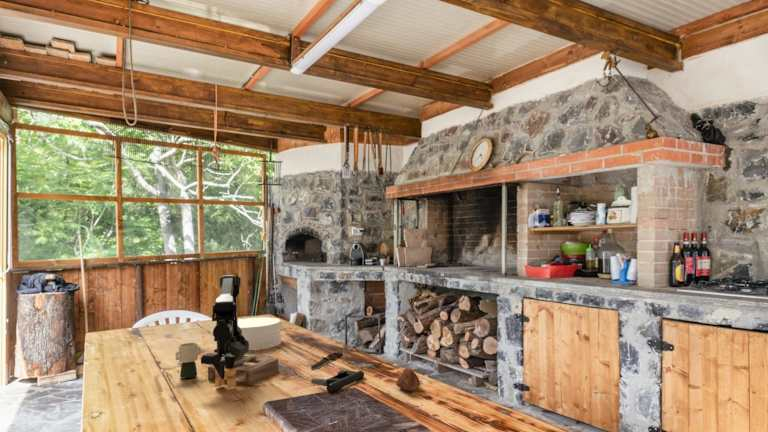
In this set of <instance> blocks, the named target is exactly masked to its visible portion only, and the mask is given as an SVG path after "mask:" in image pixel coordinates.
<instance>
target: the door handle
mask: <svg viewBox="0 0 768 432" xmlns="http://www.w3.org/2000/svg"><path fill="white" fill-rule="evenodd" d="M364 377H365V373H364V371H363V370H358V371H355V370H339V371H337V375H334V376H332V377H329V378H327V379H326V378H325V379H324V378H318V377H317V378H315V377H314V378H311V380H310V381H311V383H312V384H317V385H322V386H326V391H327V392H328V393H329V392H330V393H333V392H332V391H335V392H337V391H339V390H341V389H345V388H348V387H349V386H352V385H354V384H355V383H357V381H359V380H362V379H363V378H364ZM336 390H337V391H336Z"/></svg>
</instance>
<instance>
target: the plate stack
mask: <svg viewBox="0 0 768 432" xmlns="http://www.w3.org/2000/svg"><path fill="white" fill-rule="evenodd" d="M281 321H282V320H281V318H276V317H265V316H264V317H250V318H248V317H247V318H240V319H238V326H239V328H240V329H241V330H242V335H244V338H245V340H247V341H248V342H249V350H254V351H260V349H262V350H266V349H270V348H274V346H275V347H277V346H279V345H280V344H281V343H282V339H281V338H282V330H281V328H282V326H281V323H282V322H281Z"/></svg>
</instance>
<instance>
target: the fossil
mask: <svg viewBox="0 0 768 432" xmlns="http://www.w3.org/2000/svg"><path fill="white" fill-rule="evenodd" d="M395 385H396V386H397V387H399V388H400V389H402V390H404V391H406V392H414V391H417V390H418V389H419V387H420V386H421V381H420V378H419V377H418V375H417V374H416V373H415V371H414V370H413V369H409V368H404V369H403V371H402V373H401V374H400V376H399V377H398V379H397V381H396V383H395Z"/></svg>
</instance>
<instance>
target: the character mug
mask: <svg viewBox="0 0 768 432" xmlns="http://www.w3.org/2000/svg"><path fill="white" fill-rule="evenodd" d="M198 345H199V344H198V342H185V343H181V344H179V345H178V351H176V352H175V361H179V362H180V363H181V364H180V365H181V366H180V367H181V368H180V372H179V373H180V376H179V377H180V378H184V379H188V378H189V379H191V378H194V377H197V376H198V371H197V365H196V364H197V363H196V361H197V360H198V359H199V358H198V357H199V355H200V354H201V352H202V351H201V350H202V349H201V348H202V347H201V346H198Z"/></svg>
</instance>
